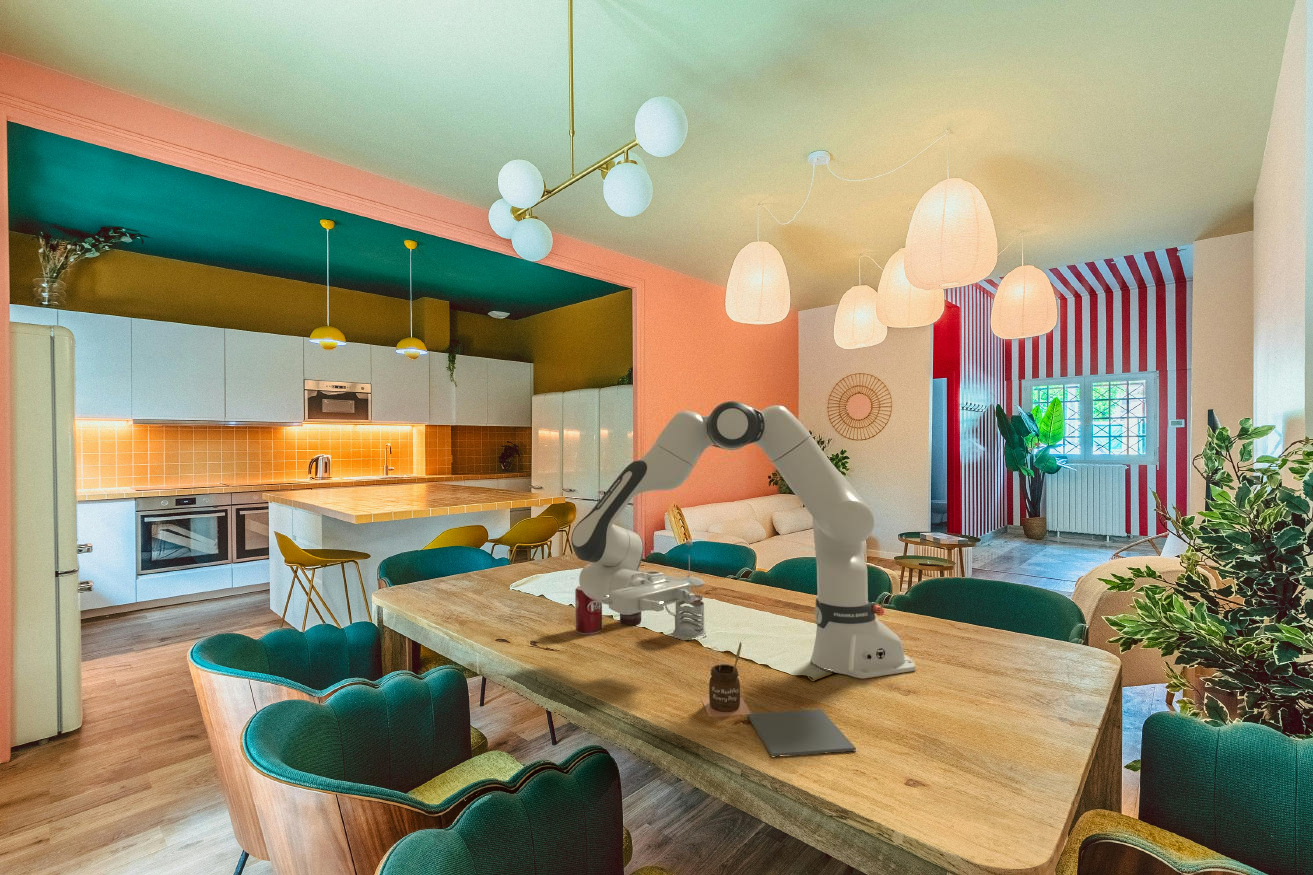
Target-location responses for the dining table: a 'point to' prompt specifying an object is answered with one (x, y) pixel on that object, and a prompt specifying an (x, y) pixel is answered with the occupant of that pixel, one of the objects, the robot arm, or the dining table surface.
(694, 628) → the french press
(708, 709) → the pink tile
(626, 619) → the can
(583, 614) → the soda can
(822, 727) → the charcoal mat
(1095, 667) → the dining table surface
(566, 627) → the dining table surface
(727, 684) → the utensil holder
